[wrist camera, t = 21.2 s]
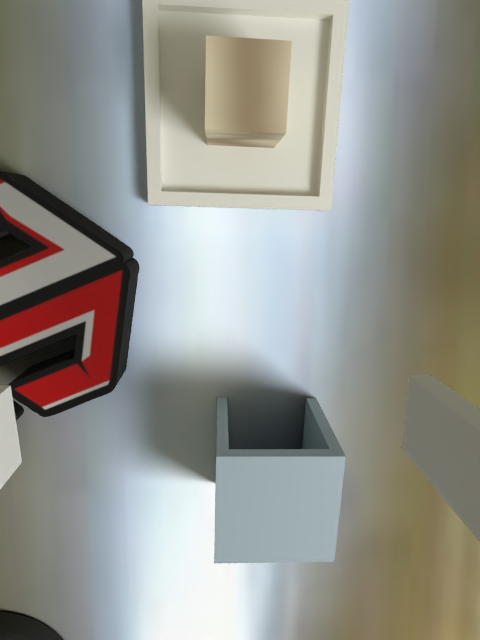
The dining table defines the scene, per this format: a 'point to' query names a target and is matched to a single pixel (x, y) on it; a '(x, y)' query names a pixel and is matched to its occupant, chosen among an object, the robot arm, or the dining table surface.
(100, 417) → the dining table surface
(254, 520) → the open box
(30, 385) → the emblem
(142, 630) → the dining table surface
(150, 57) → the tray
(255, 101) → the block
